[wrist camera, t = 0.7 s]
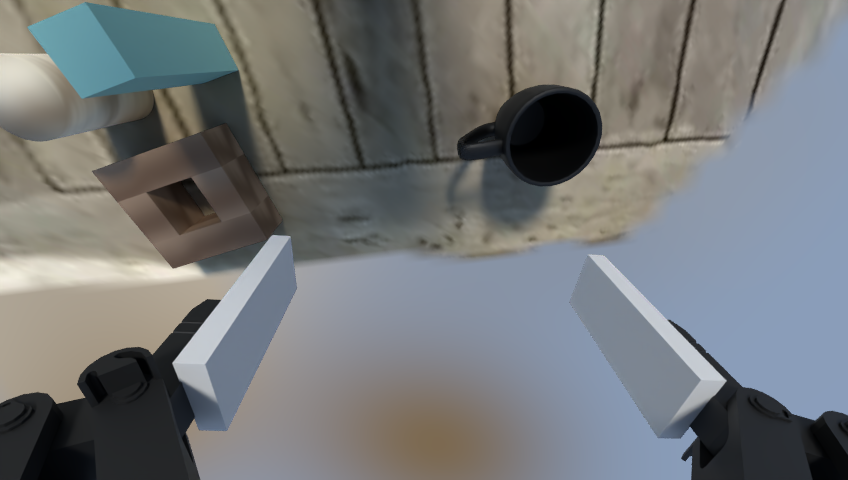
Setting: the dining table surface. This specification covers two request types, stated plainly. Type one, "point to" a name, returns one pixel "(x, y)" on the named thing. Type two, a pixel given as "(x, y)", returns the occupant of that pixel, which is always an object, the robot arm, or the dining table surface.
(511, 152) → the mug
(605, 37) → the dining table surface
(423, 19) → the dining table surface
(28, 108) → the round dowel
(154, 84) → the square bit
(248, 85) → the dining table surface
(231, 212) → the socket block
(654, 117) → the dining table surface
